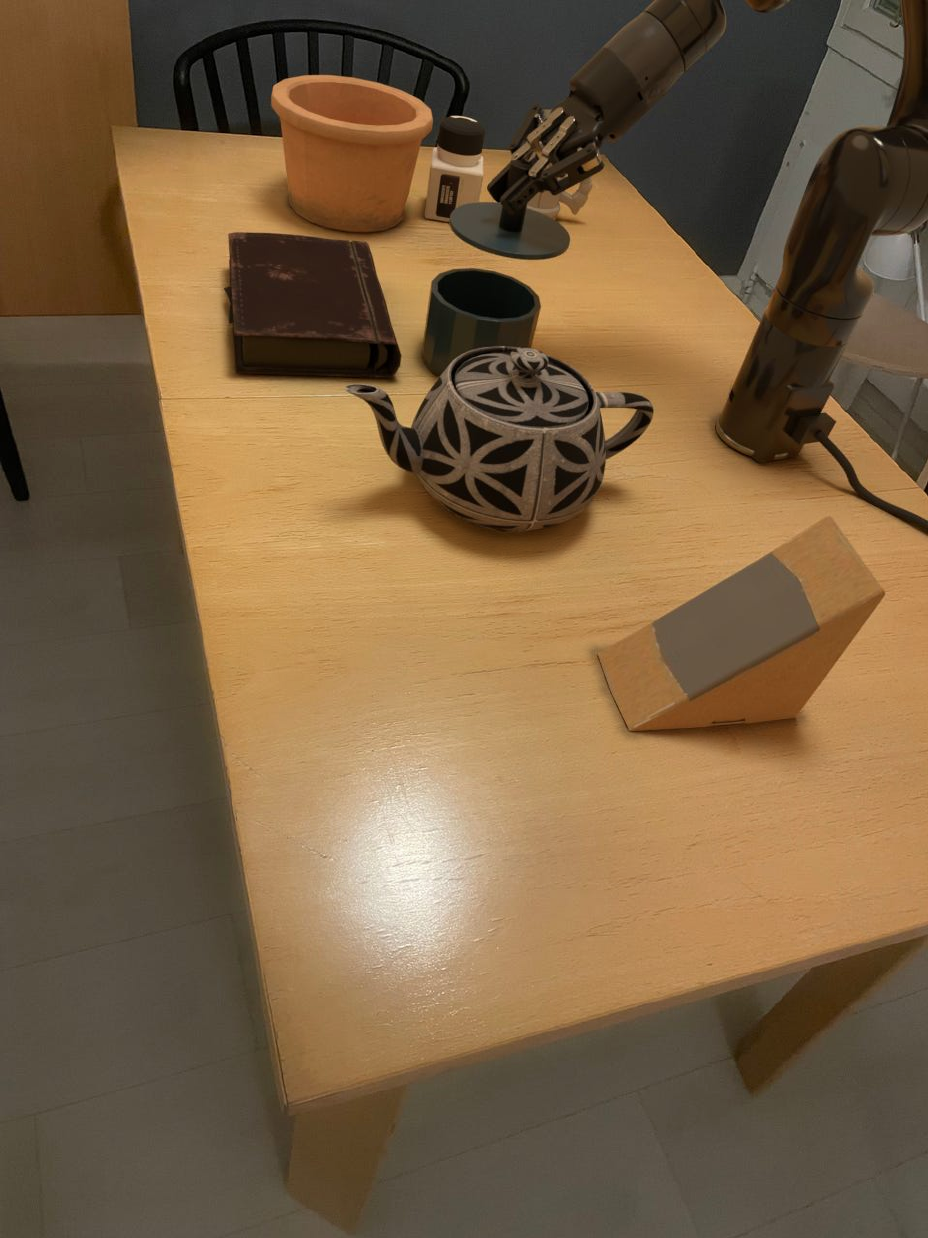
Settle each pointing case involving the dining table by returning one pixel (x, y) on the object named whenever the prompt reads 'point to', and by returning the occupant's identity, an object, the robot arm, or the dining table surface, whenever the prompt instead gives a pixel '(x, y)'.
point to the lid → (510, 226)
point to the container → (455, 167)
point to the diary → (308, 307)
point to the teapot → (508, 437)
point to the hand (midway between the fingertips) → (498, 201)
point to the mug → (560, 198)
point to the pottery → (349, 149)
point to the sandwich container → (747, 639)
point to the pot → (476, 315)
